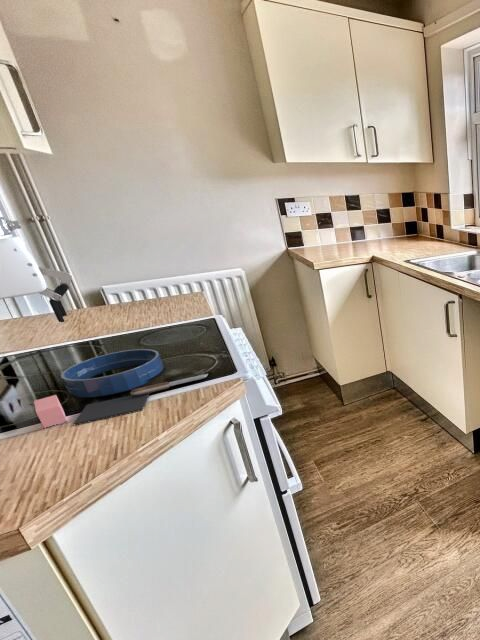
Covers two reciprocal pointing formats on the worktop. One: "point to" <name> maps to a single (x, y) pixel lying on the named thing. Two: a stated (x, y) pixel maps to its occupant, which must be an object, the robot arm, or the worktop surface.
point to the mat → (111, 408)
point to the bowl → (116, 383)
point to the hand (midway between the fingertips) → (24, 328)
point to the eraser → (49, 411)
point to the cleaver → (163, 385)
